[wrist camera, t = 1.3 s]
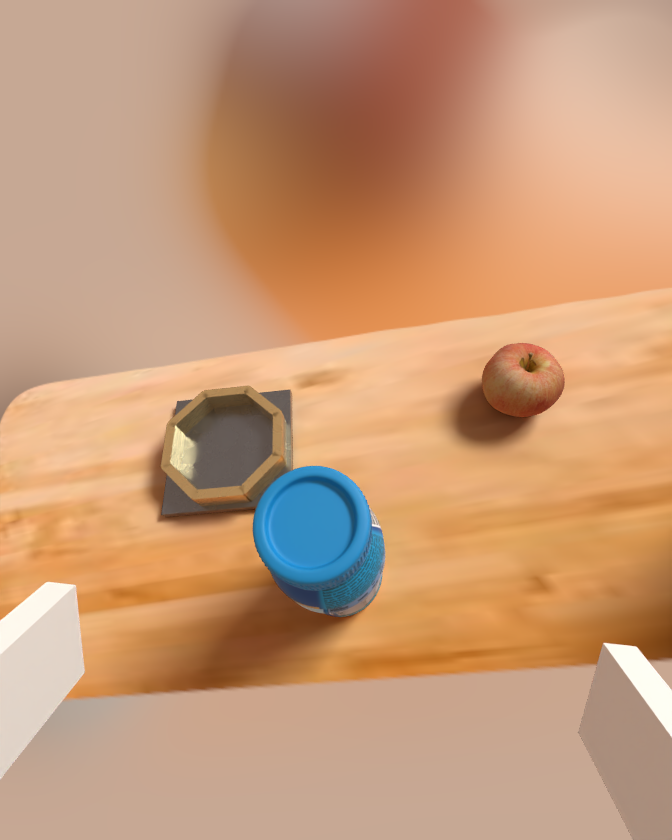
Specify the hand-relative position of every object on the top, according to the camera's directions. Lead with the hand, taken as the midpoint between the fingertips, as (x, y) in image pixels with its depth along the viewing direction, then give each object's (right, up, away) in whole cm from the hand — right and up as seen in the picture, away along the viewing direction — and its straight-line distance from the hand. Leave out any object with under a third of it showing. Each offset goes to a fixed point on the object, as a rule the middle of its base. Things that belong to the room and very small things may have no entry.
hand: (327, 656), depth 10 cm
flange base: (-12, +2, +37) cm, 39 cm away
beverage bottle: (+1, -9, +30) cm, 31 cm away
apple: (+20, +8, +37) cm, 43 cm away
